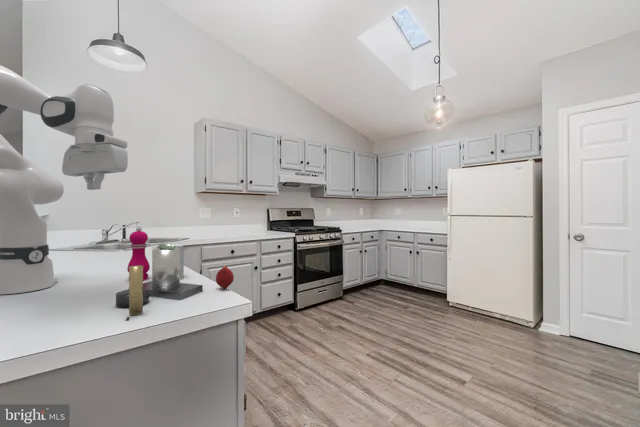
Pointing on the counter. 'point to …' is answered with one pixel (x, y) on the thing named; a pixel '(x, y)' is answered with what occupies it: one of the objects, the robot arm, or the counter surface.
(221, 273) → the onion
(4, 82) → the robot arm
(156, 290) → the instrument stand
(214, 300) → the counter surface
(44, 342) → the counter surface
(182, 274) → the small box
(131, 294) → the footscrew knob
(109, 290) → the counter surface
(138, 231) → the pepper mill
